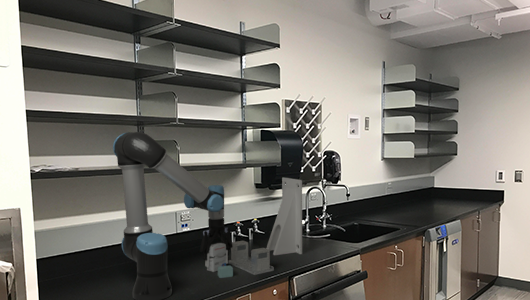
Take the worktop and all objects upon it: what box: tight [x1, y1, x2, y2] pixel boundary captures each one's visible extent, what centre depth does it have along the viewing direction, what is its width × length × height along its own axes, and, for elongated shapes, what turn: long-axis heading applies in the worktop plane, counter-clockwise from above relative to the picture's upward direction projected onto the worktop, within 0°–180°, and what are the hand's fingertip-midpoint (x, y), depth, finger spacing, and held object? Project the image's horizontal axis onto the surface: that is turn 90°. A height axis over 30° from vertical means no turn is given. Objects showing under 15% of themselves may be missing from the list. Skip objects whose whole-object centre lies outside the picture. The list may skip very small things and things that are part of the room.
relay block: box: [217, 265, 234, 279], centre depth 189 cm, size 6×4×4 cm, turn 111°
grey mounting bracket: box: [265, 177, 303, 256], centre depth 230 cm, size 20×14×40 cm
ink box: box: [206, 242, 227, 273], centre depth 198 cm, size 8×5×12 cm, turn 141°
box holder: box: [228, 240, 275, 276], centre depth 203 cm, size 11×24×10 cm, turn 36°
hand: (216, 264), depth 199 cm, fingers closed on ink box, 9 cm apart
